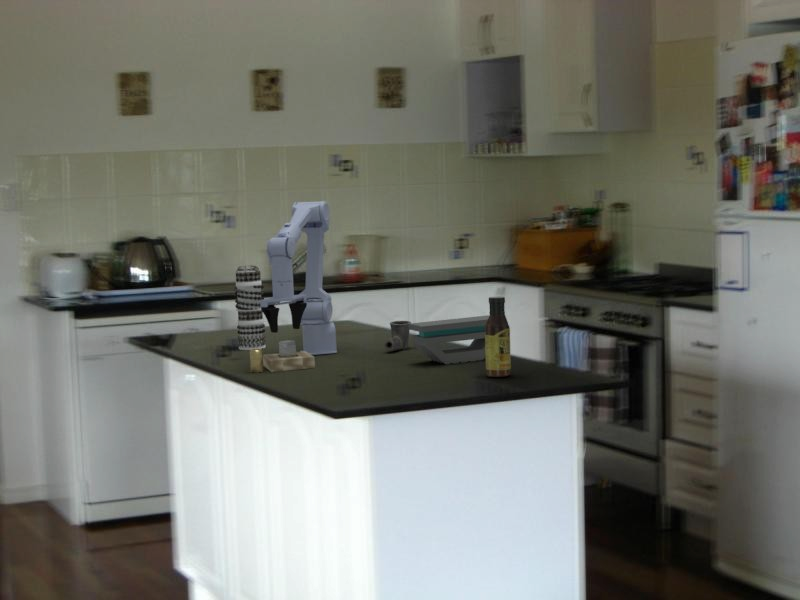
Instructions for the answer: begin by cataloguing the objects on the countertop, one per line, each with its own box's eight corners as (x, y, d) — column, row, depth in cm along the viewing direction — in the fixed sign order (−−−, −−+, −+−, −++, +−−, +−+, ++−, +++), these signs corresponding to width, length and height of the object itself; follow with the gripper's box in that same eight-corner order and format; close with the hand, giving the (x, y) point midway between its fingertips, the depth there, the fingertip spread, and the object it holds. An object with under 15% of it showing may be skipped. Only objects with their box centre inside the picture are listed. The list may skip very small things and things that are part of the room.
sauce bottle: (503, 378, 312) (501, 298, 310) (481, 377, 316) (478, 298, 313) (515, 374, 318) (513, 295, 316) (493, 373, 321) (491, 295, 319)
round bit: (261, 370, 341) (260, 348, 340) (263, 372, 338) (262, 350, 337) (250, 371, 340) (248, 349, 340) (252, 373, 337) (250, 351, 337)
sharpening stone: (423, 367, 335) (421, 326, 334) (410, 363, 342) (408, 323, 341) (504, 357, 346) (503, 317, 345) (490, 353, 353) (489, 315, 352)
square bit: (289, 365, 348) (287, 340, 347) (296, 366, 346) (295, 341, 345) (280, 367, 346) (278, 341, 345) (287, 368, 343) (286, 342, 343)
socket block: (305, 361, 353) (305, 351, 353) (315, 367, 341) (314, 356, 341) (263, 365, 350) (262, 354, 349) (271, 371, 338) (270, 360, 338)
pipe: (380, 353, 363) (379, 326, 362) (397, 346, 374) (395, 320, 373) (400, 354, 360) (398, 326, 359) (416, 347, 372) (415, 320, 371)
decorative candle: (263, 344, 391) (259, 264, 388) (270, 348, 382) (265, 266, 379) (234, 347, 388) (229, 266, 385) (240, 351, 379) (235, 268, 376)
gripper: (294, 277, 352) (297, 326, 354) (252, 283, 342) (255, 332, 344) (310, 279, 347) (313, 328, 348) (268, 284, 337) (271, 334, 339)
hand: (285, 330), depth 346 cm, fingers open, 7 cm apart
